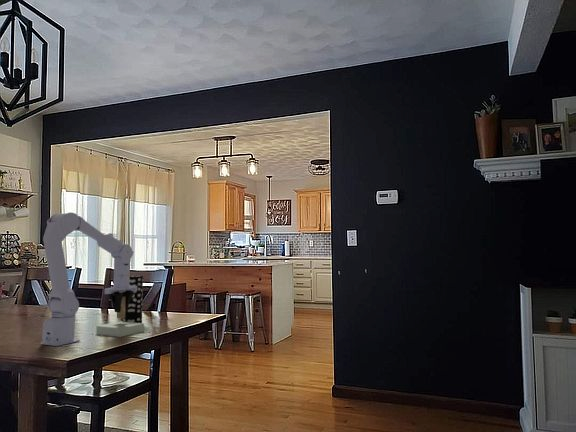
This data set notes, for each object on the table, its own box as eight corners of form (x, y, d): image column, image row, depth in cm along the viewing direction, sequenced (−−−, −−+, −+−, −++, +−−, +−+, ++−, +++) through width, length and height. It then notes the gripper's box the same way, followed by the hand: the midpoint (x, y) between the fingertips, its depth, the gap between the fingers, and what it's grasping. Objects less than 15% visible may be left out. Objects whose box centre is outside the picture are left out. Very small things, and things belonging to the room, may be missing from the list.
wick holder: (120, 336, 168) (120, 328, 168) (96, 334, 173) (96, 326, 173) (143, 331, 179) (144, 323, 179) (120, 329, 184) (120, 321, 184)
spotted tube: (132, 321, 203) (133, 275, 204) (146, 323, 199) (147, 276, 200) (117, 324, 196) (118, 276, 197) (130, 325, 192) (131, 277, 193)
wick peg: (120, 318, 174) (121, 297, 175) (114, 318, 176) (115, 296, 176) (126, 317, 177) (127, 296, 177) (121, 317, 178) (121, 296, 179)
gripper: (114, 276, 169) (113, 314, 168) (143, 274, 182) (142, 309, 181) (100, 276, 172) (99, 313, 171) (129, 274, 185) (129, 308, 184)
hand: (120, 311), depth 176 cm, fingers closed on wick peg, 3 cm apart
